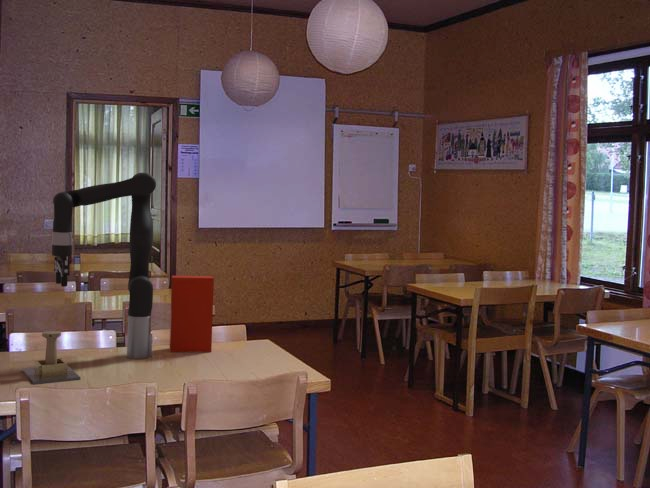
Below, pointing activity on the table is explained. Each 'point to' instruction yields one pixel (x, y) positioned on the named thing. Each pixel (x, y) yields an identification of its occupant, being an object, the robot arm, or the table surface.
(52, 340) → the handle
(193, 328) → the red rectangular box
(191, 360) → the table surface
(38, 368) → the square socket base
